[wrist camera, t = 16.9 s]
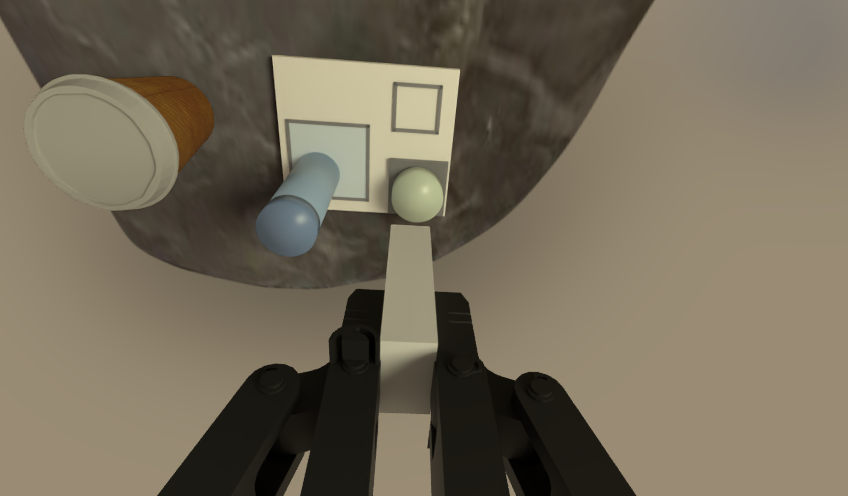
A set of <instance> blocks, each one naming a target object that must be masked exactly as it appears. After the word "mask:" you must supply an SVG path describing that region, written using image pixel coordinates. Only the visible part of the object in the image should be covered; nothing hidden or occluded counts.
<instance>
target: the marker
mask: <svg viewBox="0 0 848 496" xmlns="http://www.w3.org/2000/svg"><path fill="white" fill-rule="evenodd" d="M339 179H340V172H339V168H338V166H337V164H336V163H335V161H334V160H333V159H332V158H331V157H329V156H328V155H326V154H323V153H319V152H312V153H308V154H306V155H304V156H303V157H301V158H300V159H299V161H298V162H297V164H296V165H295V166H294V168H293V169H292V171H291V172H290V173H289V175H288V176H287V178H286V179H285V180H284V182H283V183H282V185H281V186H280V187H279V189H278V190H277V192H276V193H275V194H274V196H273V197H272V198H271V200H270V201H269V202H268V203H267V204H266V206H265V207H264V208H263V210H262V211H261V212H260V214H259V215H258V217H257V220H256V233H257V236H258V238H259V240H260V241H261V243H262V244H263V245H264V246H265V247H266V248H267V249H269V250H270V251H272V252H274V253H276V254H278V255H282V256H288V257H292V256H298V255H301V254H304V253H306V252H307V251H308V250H309V249H310V248H311V247H312V246H313V244H314V242H315V240H316V237H317V235H318V233H319V230H320V226H321V224H322V221H323V219H324V216H325V214H326V211H327V209H328V207H329V204H330V202H331V199H332V197H333V194H334V192H335V190H336V187H337V185H338V182H339Z"/></svg>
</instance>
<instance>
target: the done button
mask: <svg viewBox="0 0 848 496" xmlns="http://www.w3.org/2000/svg"><path fill="white" fill-rule="evenodd" d="M391 199H392V205H393V208H394V210H395V211H396V213H397V214H398V215H399V216H400V217H402V218H403V219H405V220H408V221H411V222H424V221H427V220H429V219H431V218H433V217H434V216H435V215H436V214H437V213H438V212H439V211H440V209H441V207H442V204H443V192H442V186H441V182H440V180H439V178H438V177H437V176H436V175H435V174H434V173H433V172H432V171H430V170H429V169H426V168H423V167H412V168H408V169H406V170H404V171H403V172H401V173H400V174H399V175H398V176H397V177H396V179H395V181H394V183H393V188H392V197H391Z"/></svg>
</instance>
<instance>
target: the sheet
mask: <svg viewBox="0 0 848 496" xmlns="http://www.w3.org/2000/svg"><path fill="white" fill-rule="evenodd" d="M272 61H273V71H274V82H275V93H276V104H277V115H278V125H279V136H280V147H281V158H282V168H283V179H284V180H285V179H286V178H287V176H288V175H289V173H290V172H291V171H292V169H293V168H294V166H295V165H296V164H297V162H298V161H299V159H300V158H301V157H303V156H304V155H306V154H308V153H312V152H319V153H323V154H326V155H328V156H329V157H331V158H332V159H333V160H334V161H335V163H336V164H337V166H338V168H339V172H340V179H339V182H338V185H337V187H336V190H335V192H334V194H333V197H332V199H331V202H330V204H329V207H328V210H346V211H363V212H381V213H392V214H397V213H396V211H395V210H394V208H393V205H392V199H391V197H392V188H393V183H394V181H395V179H396V177H397V176H398V175H399V174H400V173H401V172H403V171H404V170H406V169H408V168H412V167H423V168H426V169H429V170H430V171H432V172H433V173H434V174H435V175H436V176H437V177H438V178H439V180H440V182H441V186H442V192H443V204H442V207H441V209H440V211H439V212H438V213H437V214H436V215H435V216H445V206H446V197H447V188H448V178H449V169H450V160H451V150H452V141H453V131H454V122H455V113H456V103H457V94H458V84H459V75H460V69H456V68H443V67H430V66H417V65H403V64H390V63H377V62H364V61H351V60H338V59H324V58H311V57H298V56H285V55H273V56H272Z"/></svg>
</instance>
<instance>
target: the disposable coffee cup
mask: <svg viewBox="0 0 848 496" xmlns="http://www.w3.org/2000/svg"><path fill="white" fill-rule="evenodd" d="M213 127H214V114H213V111H212V107H211V105H210V103H209V102H208V100H207V98H206V97H205V95H204V94H203V93H202V92H201V91H200V90H199V89H198V88H197V87H196V86H194V85H193V84H191V83H190V82H188V81H186V80H184V79H181V78H178V77H173V76H163V77H139V78H115V79H106V78H103V77H100V76H94V75H89V74H86V75H67V76H63V77H60V78H57V79H55V80H52V81H51V82H49V83H48V84H46V85H45V86H44V87H43V88H42V89H41V90H40V91H39V93H38V94H37V95H36V97H35V99H34V100H33V101H32V102H31V104H30V106H29V107H28V108H27V111H26V114H25V118H24V134H25V139H26V144H27V147H28V149H29V152H30V154H31V156H32V157H33V160H34V161H35V163H36V165H37V166H38V167H39V169H40V170H41V171H42V173H43V174H44V175H45V176H46V177H47V178H48V179H49V180H50V181H51V182H52V183H53V184H54V185H55V186H56V187H57V188H59V189H60V190H61V191H63V192H64V193H66V194H67V195H69V196H70V197H72V198H73V199H75V200H78V201H80V202H83V203H85V204H87V205H89V206H92V207H96V208H101V209H106V210H111V211H113V210H129V209H141V208H144V207H147V206H151V205H153V204H155V203H156V202H158V201H160V200H161V199H163V198H164V197H165V196H166V195H167V194H168V193H169V191H170V190H171V188H172V187H173V185H174V183H175V181H176V178H177V175H178V173H179V172H180V170H181V169H182V168H183V167H184V166H185V164H186V163H187V162H188V161H189V160H190V158H191V157H192V156H193V155H194V154H195V152H197V150H198V149H199V148H200V147H201V146H202V144H203V143H204V142H205V141H206V140H207V139H208V138H209V136H210V135H211V133H212V130H213Z"/></svg>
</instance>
